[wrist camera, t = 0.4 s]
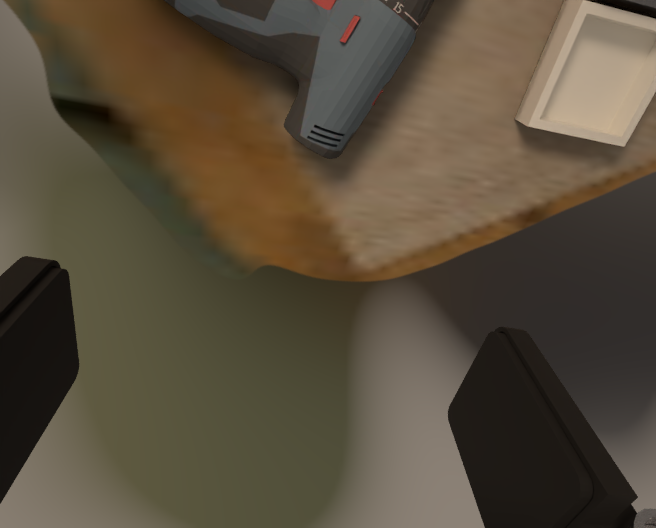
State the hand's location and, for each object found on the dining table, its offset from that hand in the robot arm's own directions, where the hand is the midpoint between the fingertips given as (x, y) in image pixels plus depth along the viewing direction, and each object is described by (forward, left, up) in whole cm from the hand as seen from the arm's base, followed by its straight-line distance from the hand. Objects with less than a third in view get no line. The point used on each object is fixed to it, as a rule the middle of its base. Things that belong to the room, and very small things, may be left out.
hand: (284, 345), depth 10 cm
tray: (-6, +23, -30) cm, 38 cm away
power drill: (-8, -2, -31) cm, 32 cm away
